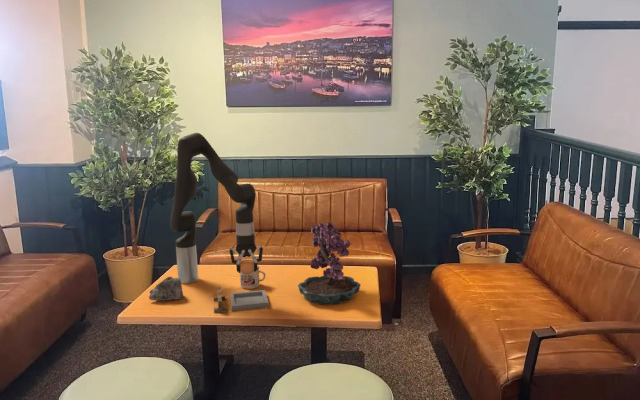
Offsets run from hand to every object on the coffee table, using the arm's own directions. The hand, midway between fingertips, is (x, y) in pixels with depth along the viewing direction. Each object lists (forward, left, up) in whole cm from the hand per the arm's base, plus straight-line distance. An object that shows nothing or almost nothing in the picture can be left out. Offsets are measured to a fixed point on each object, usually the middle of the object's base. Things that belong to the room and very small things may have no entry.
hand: (247, 271), depth 227 cm
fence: (-6, -10, -14) cm, 18 cm away
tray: (0, 0, -14) cm, 14 cm away
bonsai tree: (+16, +31, -14) cm, 38 cm away
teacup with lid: (-16, +13, -14) cm, 24 cm away
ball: (0, 0, +2) cm, 2 cm away
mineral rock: (-28, -23, -14) cm, 39 cm away
